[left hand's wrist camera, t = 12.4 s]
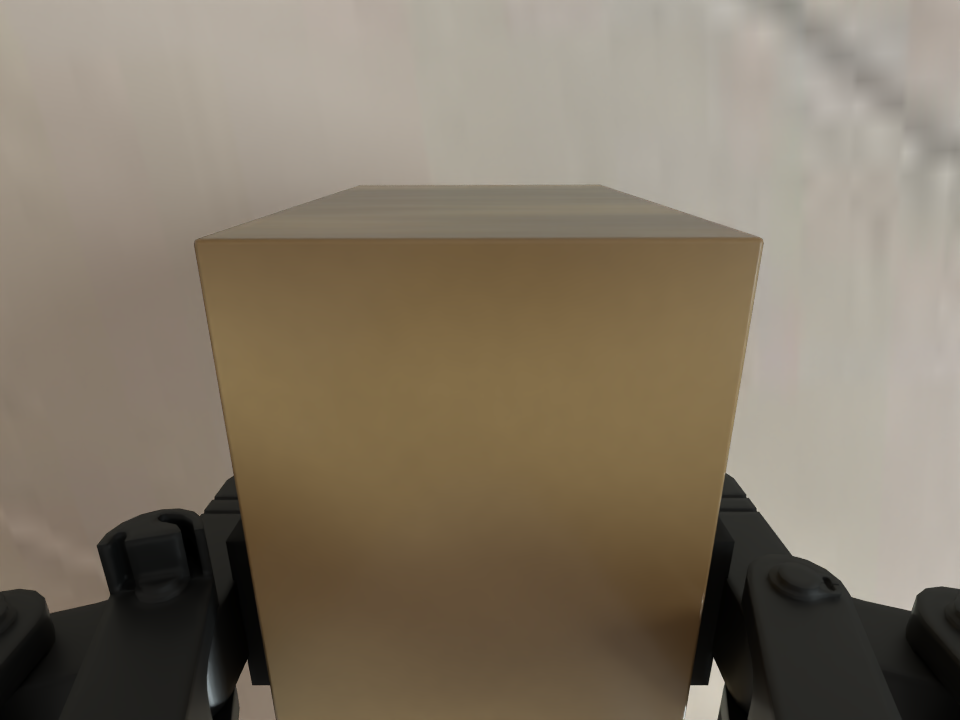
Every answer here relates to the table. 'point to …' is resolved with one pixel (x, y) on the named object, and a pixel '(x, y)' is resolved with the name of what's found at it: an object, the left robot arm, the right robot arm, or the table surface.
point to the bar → (479, 444)
